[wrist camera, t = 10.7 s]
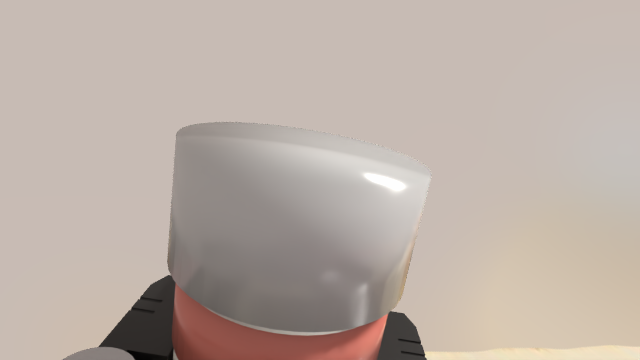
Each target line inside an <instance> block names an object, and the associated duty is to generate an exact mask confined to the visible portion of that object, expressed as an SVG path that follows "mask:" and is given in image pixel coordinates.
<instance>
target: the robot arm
mask: <svg viewBox="0 0 640 360" xmlns="http://www.w3.org/2000/svg"><path fill="white" fill-rule="evenodd" d="M175 286H176V282H175V281H174V280H173V278H172V276H170V275H168V276H166V277H164V278H162V279H160V280H158V281H157V282H155V283H153V284H152V285H150V287H149V288H148V289H147V290H146V291H145V292H144V294H143V295H142V296H141V298H140V300H139V299H138V301H137V302H136V303H135V304H134V305H133V307H132V309H131V310H129V311H128V313H127V314H126V315H125V316H124V317H123V318H122V320H121V321H120V322H119V323H118V324H117V326H116V327H115V328H114V329H113V330H112V331H111V333H110V334H109V335H108V336H107V337H106V338H105V340H104V341H103V342H102V343H101V345H100V346H99V347H97V348H90V349H86V350H83V351H80V352H77V353H74V354H72V355H70V356H68V357H66V358H65V359H63V360H173V351H174V348H173V343H172V324H173V311H174V298H175ZM377 360H427V359H426V358H425V353H424V350H423V347H422V345H421V341H420V338H419V335H418V332H417V329H416V327H415V326H414V324H413V323H412V322H411V321H410V320H409V319H408V318H407V316H406V315H405V314H403V313H397V312H392V311H390V312H389V313H388V316H387V320H386V325H385V329H384V333H383V337H382V341H381V346H380V350H379V354H378V358H377Z"/></svg>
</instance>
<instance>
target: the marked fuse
mask: <svg viewBox="0 0 640 360" xmlns="http://www.w3.org/2000/svg"><path fill="white" fill-rule="evenodd" d="M431 176H432V174H431V171H430V169H429V168H428V167H427V166H425V165H424V164H423V163H421V162H419V161H418V160H416V159H414V158H412V157H410V156H407V155H405V154H402V153H400V152H397V151H395V150H392V149H389V148H385V147H383V146H379V145H376V144H373V143H369V142H365V141H361V140H357V139H353V138H349V137H345V136H340V135H335V134H330V133H325V132H319V131H313V130H307V129H302V128H295V127H287V126H279V125H269V124H258V123H241V122H238V123H237V122H215V123H201V124H195V125H190V126H187V127H184V128H182V129H180V130H179V131H178V132H177V134H176V145H175V159H174V174H173V188H172V202H171V216H170V231H169V244H168V260H167V262H168V269H169V272H170V273H171V276H172V278H173V280H174V281H175V282H176V286H175V298H174V311H173V324H172V343H173V348H174V351H173V360H377V358H378V354H379V350H380V346H381V341H382V337H383V333H384V329H385V325H386V320H387V316H388V313H389V312H390V311H391V310H392V309H394V308H395V306H396V305H397V304H398V302H399V301H400V299H401V296H402V293H403V290H404V286H405V282H406V278H407V274H408V270H409V266H410V261H411V257H412V253H413V249H414V245H415V241H416V237H417V233H418V229H419V224H420V220H421V217H422V212H423V208H424V204H425V200H426V196H427V192H428V188H429V184H430V180H431Z"/></svg>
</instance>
